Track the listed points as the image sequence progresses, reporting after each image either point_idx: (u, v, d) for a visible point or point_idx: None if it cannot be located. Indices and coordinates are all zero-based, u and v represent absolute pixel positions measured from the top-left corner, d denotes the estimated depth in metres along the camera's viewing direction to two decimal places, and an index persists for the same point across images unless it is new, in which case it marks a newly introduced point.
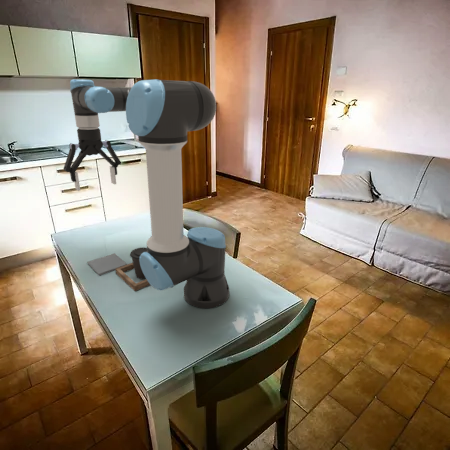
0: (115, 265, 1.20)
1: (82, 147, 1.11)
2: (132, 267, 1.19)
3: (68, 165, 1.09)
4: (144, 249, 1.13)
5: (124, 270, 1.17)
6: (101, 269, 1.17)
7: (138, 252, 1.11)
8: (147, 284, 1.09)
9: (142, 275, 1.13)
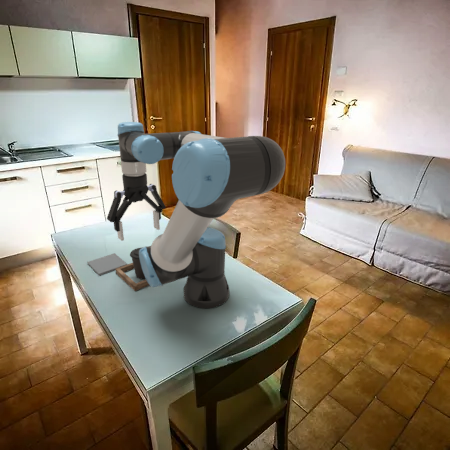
0: (115, 265, 1.20)
1: (128, 194, 1.01)
2: (132, 267, 1.19)
3: (113, 215, 0.99)
4: None
5: (124, 270, 1.17)
6: (101, 269, 1.17)
7: (138, 252, 1.11)
8: (147, 284, 1.09)
9: (142, 275, 1.13)
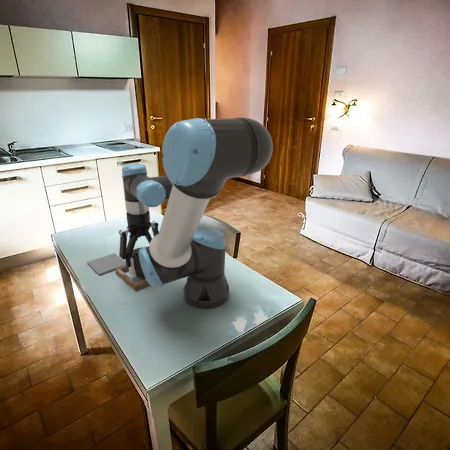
0: (115, 265, 1.20)
1: (132, 231, 1.06)
2: None
3: (123, 253, 1.06)
4: None
5: (124, 270, 1.17)
6: (101, 269, 1.17)
7: (138, 252, 1.11)
8: (147, 284, 1.09)
9: (142, 275, 1.13)
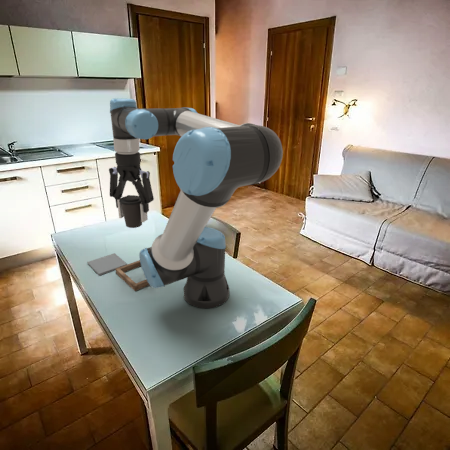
0: (115, 265, 1.20)
1: (118, 171, 1.02)
2: (132, 267, 1.19)
3: (110, 190, 1.05)
4: (136, 197, 1.05)
5: (124, 270, 1.17)
6: (101, 269, 1.17)
7: (127, 197, 1.05)
8: (147, 284, 1.09)
9: (125, 222, 1.07)
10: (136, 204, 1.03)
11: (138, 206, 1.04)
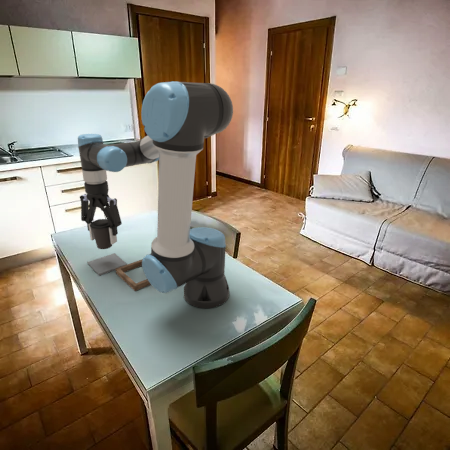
0: (115, 265, 1.20)
1: (88, 198, 1.11)
2: (132, 267, 1.19)
3: (82, 215, 1.15)
4: (105, 221, 1.15)
5: (124, 270, 1.17)
6: (101, 269, 1.17)
7: (98, 221, 1.15)
8: (147, 284, 1.09)
9: None
10: (105, 228, 1.13)
11: (107, 229, 1.14)
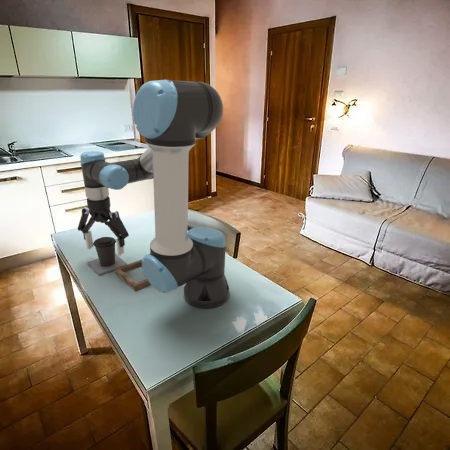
0: (115, 265, 1.20)
1: (90, 213, 1.13)
2: (132, 267, 1.19)
3: (79, 225, 1.17)
4: (108, 240, 1.17)
5: (124, 270, 1.17)
6: (101, 269, 1.17)
7: (101, 239, 1.18)
8: (147, 284, 1.09)
9: None
10: (108, 246, 1.15)
11: (110, 248, 1.16)
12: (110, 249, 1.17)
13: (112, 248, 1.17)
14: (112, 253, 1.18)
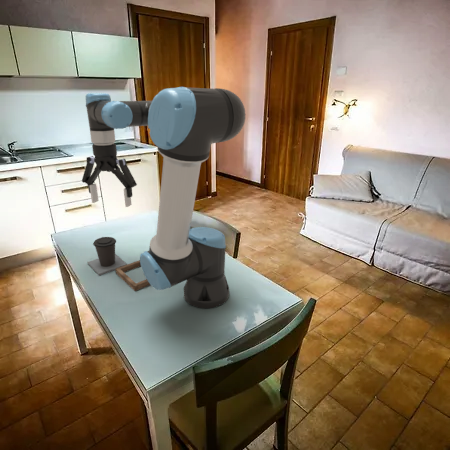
0: (115, 265, 1.20)
1: (95, 162, 1.08)
2: (132, 267, 1.19)
3: (84, 176, 1.11)
4: (108, 240, 1.17)
5: (124, 270, 1.17)
6: (101, 269, 1.17)
7: (101, 239, 1.18)
8: (147, 284, 1.09)
9: None
10: (108, 246, 1.15)
11: (110, 248, 1.16)
12: (110, 249, 1.17)
13: (112, 248, 1.17)
14: (112, 253, 1.18)
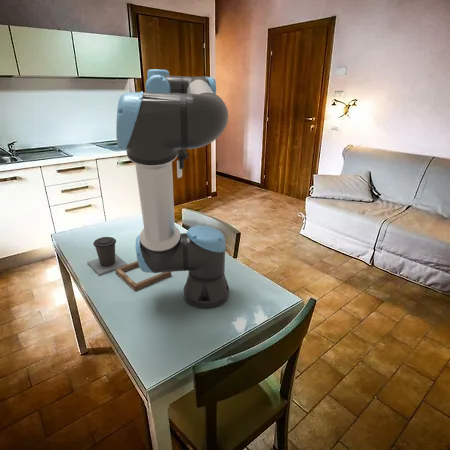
0: (115, 265, 1.20)
1: None
2: (132, 267, 1.19)
3: None
4: (108, 240, 1.17)
5: (124, 270, 1.17)
6: (101, 269, 1.17)
7: (101, 239, 1.18)
8: (147, 284, 1.09)
9: None
10: (108, 246, 1.15)
11: (110, 248, 1.16)
12: (110, 249, 1.17)
13: (112, 248, 1.17)
14: (112, 253, 1.18)
